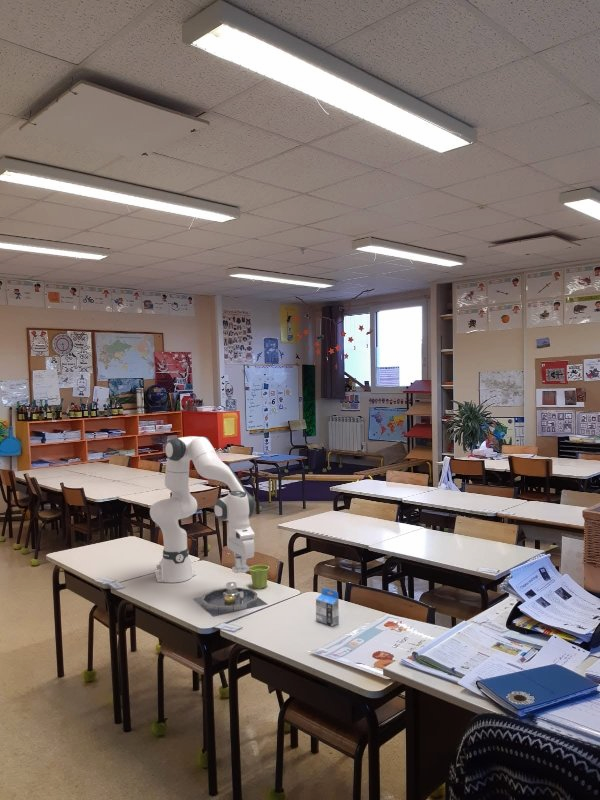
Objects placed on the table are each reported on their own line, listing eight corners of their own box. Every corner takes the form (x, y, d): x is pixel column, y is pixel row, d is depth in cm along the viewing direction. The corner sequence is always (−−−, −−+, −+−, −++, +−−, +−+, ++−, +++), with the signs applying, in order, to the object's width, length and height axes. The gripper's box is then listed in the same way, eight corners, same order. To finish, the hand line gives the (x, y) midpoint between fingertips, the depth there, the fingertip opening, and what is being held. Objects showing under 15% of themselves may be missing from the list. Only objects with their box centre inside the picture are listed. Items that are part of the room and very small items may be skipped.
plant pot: (248, 590, 267) (247, 571, 267) (250, 583, 276) (249, 565, 276) (269, 589, 267) (268, 570, 267) (270, 583, 276) (269, 564, 276)
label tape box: (315, 621, 230) (314, 589, 230) (322, 617, 233) (321, 586, 233) (332, 627, 224) (331, 594, 223) (339, 623, 227) (338, 591, 226)
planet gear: (230, 570, 248) (229, 556, 248) (245, 567, 252) (244, 554, 252) (236, 574, 242) (236, 560, 242) (252, 571, 246) (251, 557, 245)
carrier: (192, 601, 255) (192, 586, 255) (244, 590, 267) (243, 575, 267) (213, 619, 234) (212, 602, 234) (268, 607, 246) (267, 590, 246)
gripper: (222, 527, 254) (224, 559, 254) (242, 536, 236) (243, 571, 237) (236, 525, 257) (237, 557, 257) (256, 534, 239) (258, 568, 240)
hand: (240, 564), depth 247 cm, fingers closed on planet gear, 4 cm apart
